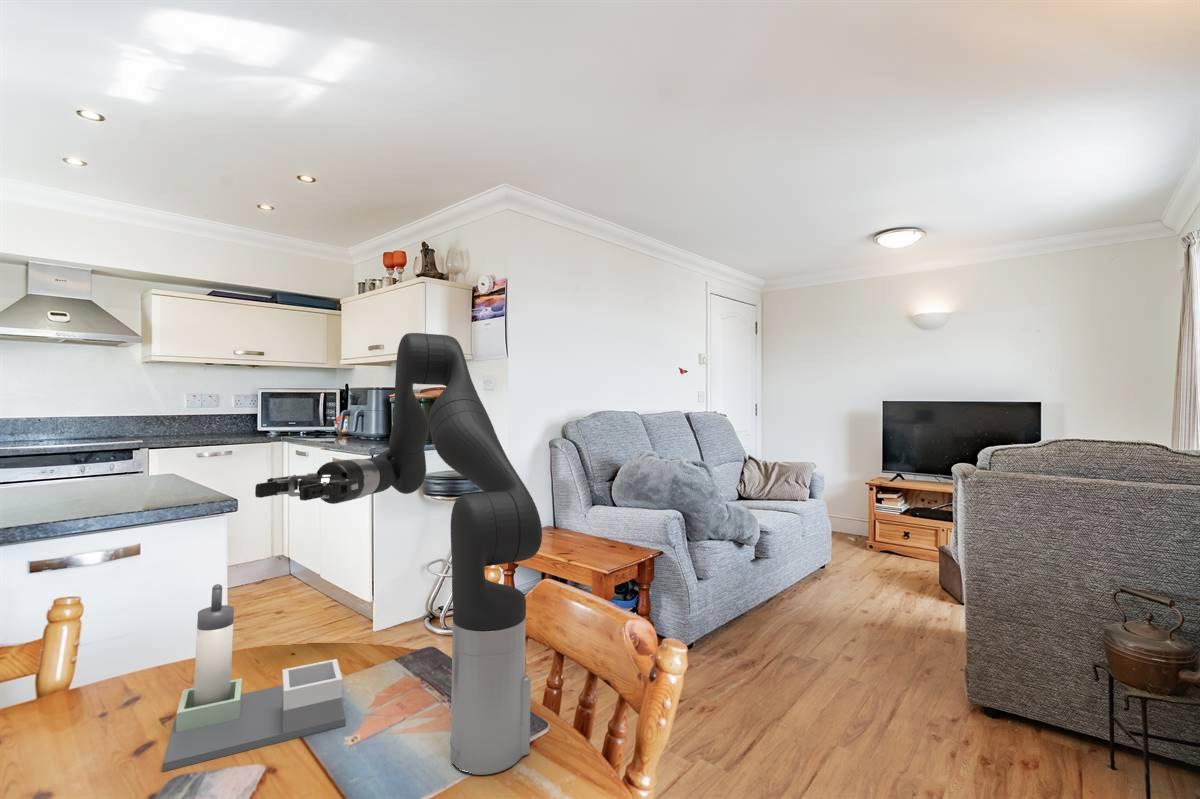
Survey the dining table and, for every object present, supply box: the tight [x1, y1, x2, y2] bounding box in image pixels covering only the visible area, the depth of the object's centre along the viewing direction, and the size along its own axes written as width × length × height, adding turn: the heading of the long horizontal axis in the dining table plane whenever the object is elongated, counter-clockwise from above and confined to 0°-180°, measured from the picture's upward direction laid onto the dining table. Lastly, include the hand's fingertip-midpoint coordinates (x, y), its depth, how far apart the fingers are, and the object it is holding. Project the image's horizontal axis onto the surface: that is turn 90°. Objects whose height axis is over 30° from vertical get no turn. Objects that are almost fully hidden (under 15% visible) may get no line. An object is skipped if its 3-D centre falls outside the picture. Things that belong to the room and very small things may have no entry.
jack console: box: [162, 658, 347, 773], centre depth 79 cm, size 20×14×6 cm
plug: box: [193, 583, 235, 707], centre depth 79 cm, size 4×4×18 cm
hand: (279, 492), depth 89 cm, fingers open, 8 cm apart
